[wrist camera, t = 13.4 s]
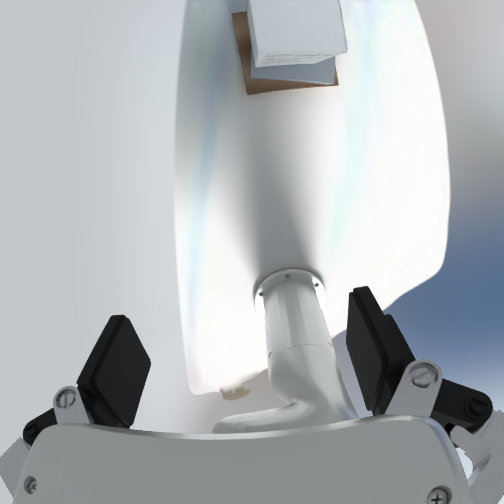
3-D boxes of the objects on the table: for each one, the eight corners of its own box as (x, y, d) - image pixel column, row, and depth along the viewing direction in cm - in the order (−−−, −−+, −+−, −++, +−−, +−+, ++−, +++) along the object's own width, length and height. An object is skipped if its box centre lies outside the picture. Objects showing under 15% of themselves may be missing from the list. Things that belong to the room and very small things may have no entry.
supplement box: (246, 15, 25) (244, -24, 14) (308, 12, 24) (337, -24, 13) (253, 69, 28) (255, 54, 18) (315, 65, 28) (350, 52, 17)
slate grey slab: (327, 85, 32) (334, 83, 29) (250, 78, 32) (250, 76, 29) (329, 19, 27) (335, 13, 24) (252, 11, 27) (253, 4, 24)
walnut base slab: (332, 86, 34) (338, 85, 32) (247, 95, 35) (247, 94, 33) (317, 12, 29) (322, 6, 26) (232, 19, 29) (231, 13, 27)
